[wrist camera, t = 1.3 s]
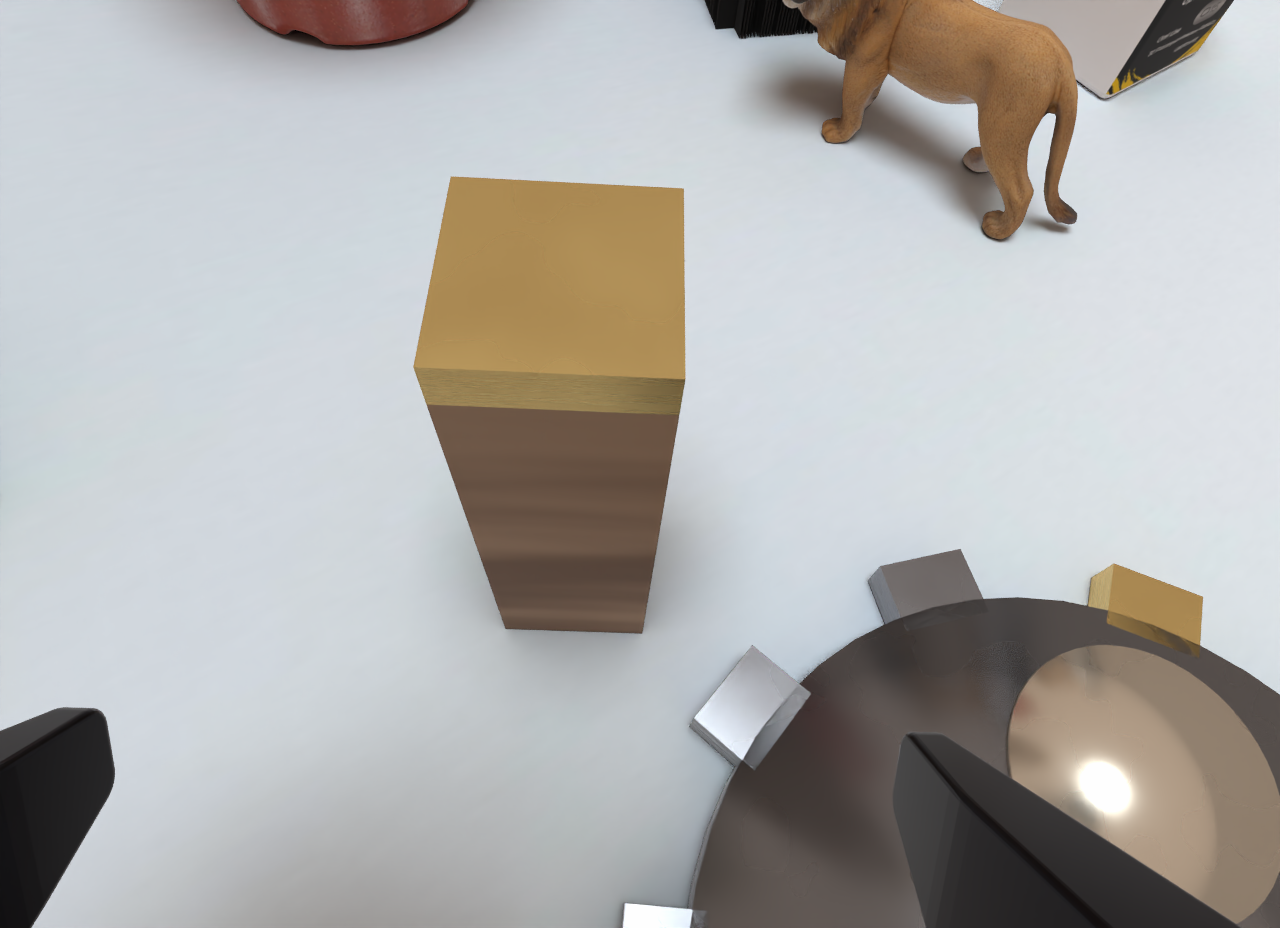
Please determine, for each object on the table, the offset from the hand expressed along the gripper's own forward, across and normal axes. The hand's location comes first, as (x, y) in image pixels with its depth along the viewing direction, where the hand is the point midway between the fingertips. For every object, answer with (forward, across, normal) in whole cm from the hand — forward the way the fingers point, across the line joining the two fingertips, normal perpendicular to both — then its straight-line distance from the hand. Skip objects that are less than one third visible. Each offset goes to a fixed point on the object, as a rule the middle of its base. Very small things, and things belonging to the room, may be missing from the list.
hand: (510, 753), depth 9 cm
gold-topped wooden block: (+14, 0, +4) cm, 15 cm away
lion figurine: (+28, -12, -9) cm, 32 cm away
